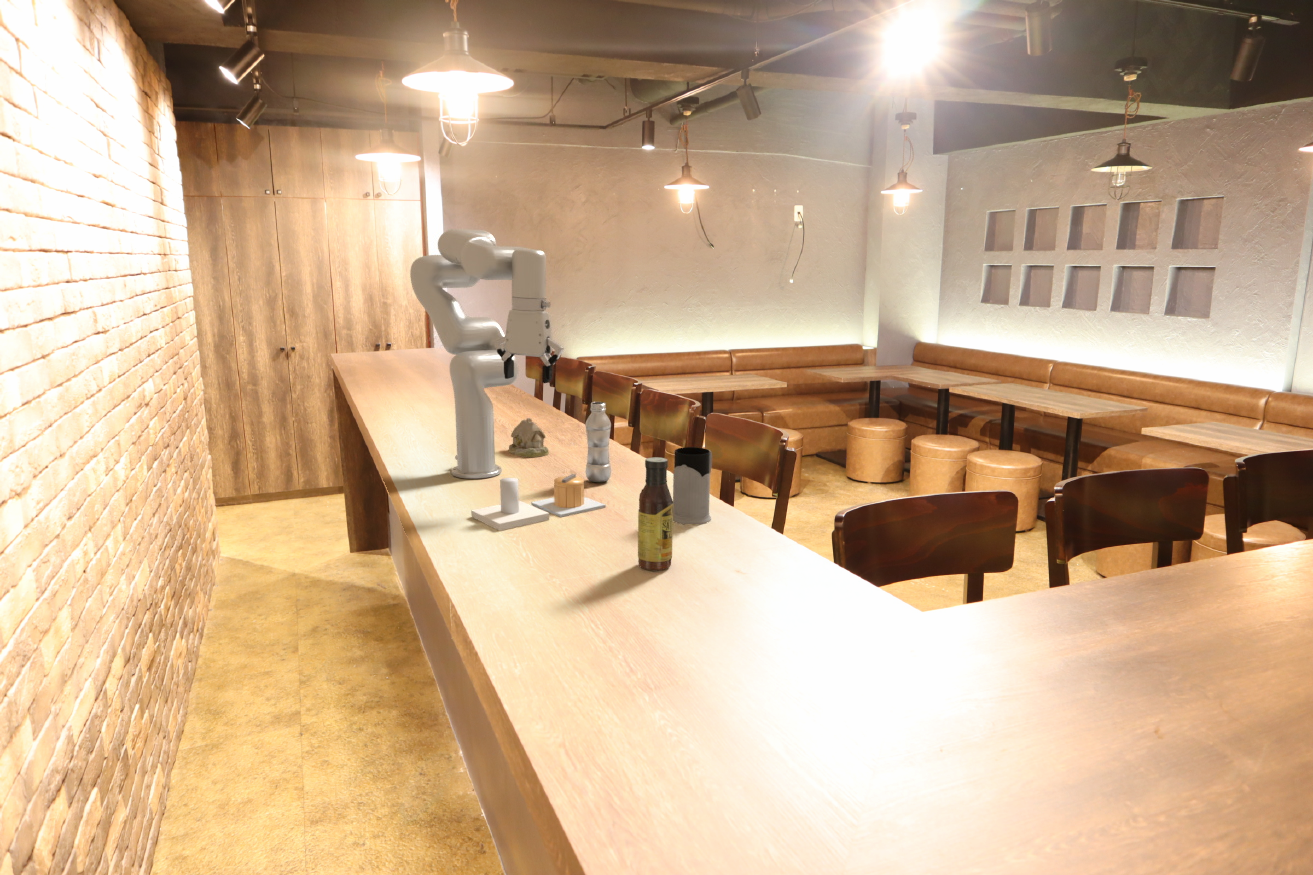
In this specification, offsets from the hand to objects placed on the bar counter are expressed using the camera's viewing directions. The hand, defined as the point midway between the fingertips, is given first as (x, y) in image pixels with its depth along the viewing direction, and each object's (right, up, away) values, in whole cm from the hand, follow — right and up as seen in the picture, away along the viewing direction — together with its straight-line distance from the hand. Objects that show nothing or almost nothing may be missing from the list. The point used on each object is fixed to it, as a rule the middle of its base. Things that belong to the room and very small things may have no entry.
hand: (527, 380), depth 191 cm
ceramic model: (-7, -18, +49) cm, 53 cm away
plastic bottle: (+15, -24, +18) cm, 34 cm away
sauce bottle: (+29, -37, -40) cm, 62 cm away
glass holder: (+38, -30, -9) cm, 50 cm away
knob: (+10, -28, -4) cm, 30 cm away
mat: (+10, -29, -4) cm, 30 cm away
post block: (-2, -31, -13) cm, 33 cm away
